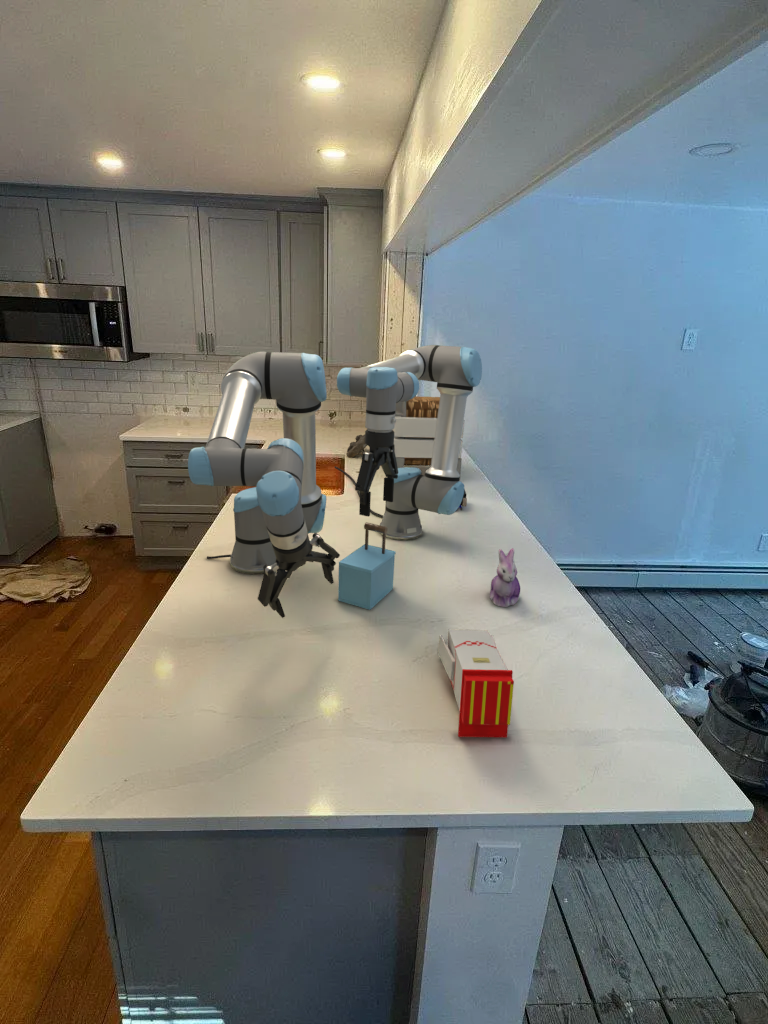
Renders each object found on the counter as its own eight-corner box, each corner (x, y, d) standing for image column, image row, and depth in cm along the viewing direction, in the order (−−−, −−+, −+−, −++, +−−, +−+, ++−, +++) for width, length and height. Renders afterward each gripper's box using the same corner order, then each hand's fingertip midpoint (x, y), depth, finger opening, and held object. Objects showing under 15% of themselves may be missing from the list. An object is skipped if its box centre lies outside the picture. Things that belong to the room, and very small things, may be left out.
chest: (362, 580, 165) (363, 547, 161) (393, 589, 161) (394, 554, 157) (338, 600, 153) (338, 565, 149) (369, 610, 149) (371, 573, 145)
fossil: (346, 440, 316) (367, 425, 311) (357, 453, 319) (378, 438, 314) (340, 453, 296) (362, 438, 291) (351, 468, 299) (374, 452, 294)
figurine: (502, 611, 151) (509, 560, 146) (479, 594, 159) (485, 545, 154) (530, 604, 155) (537, 554, 150) (506, 588, 163) (512, 540, 158)
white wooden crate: (382, 463, 289) (386, 382, 275) (445, 464, 293) (451, 384, 279) (390, 482, 257) (394, 392, 243) (460, 483, 261) (468, 394, 247)
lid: (364, 546, 161) (365, 517, 158) (395, 554, 157) (397, 524, 154) (338, 564, 149) (339, 533, 146) (371, 573, 145) (372, 541, 142)
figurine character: (467, 515, 225) (461, 499, 238) (469, 498, 221) (463, 482, 235) (450, 514, 224) (445, 498, 238) (452, 497, 221) (447, 482, 234)
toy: (488, 613, 130) (523, 677, 101) (484, 667, 133) (517, 744, 104) (435, 612, 130) (455, 676, 101) (432, 666, 133) (451, 743, 103)
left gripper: (245, 582, 107) (268, 639, 123) (349, 516, 117) (357, 576, 133) (226, 559, 111) (250, 617, 127) (328, 496, 121) (338, 557, 137)
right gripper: (369, 440, 133) (366, 524, 140) (413, 424, 154) (408, 498, 161) (342, 436, 136) (340, 518, 143) (388, 420, 157) (385, 493, 164)
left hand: (305, 596), depth 130 cm, fingers open, 13 cm apart
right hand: (376, 508), depth 152 cm, fingers open, 13 cm apart
